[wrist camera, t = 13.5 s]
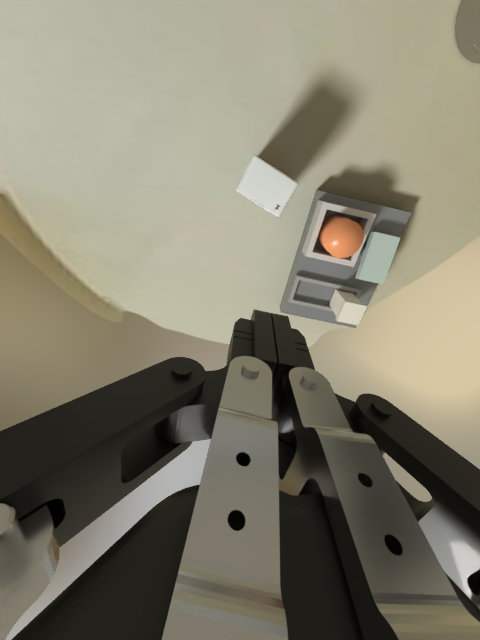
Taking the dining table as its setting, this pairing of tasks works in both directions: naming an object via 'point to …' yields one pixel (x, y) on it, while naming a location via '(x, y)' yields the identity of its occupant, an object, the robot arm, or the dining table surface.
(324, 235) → the orange piece
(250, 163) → the skincare box
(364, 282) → the panel
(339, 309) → the lever
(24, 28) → the dining table surface
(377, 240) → the block
